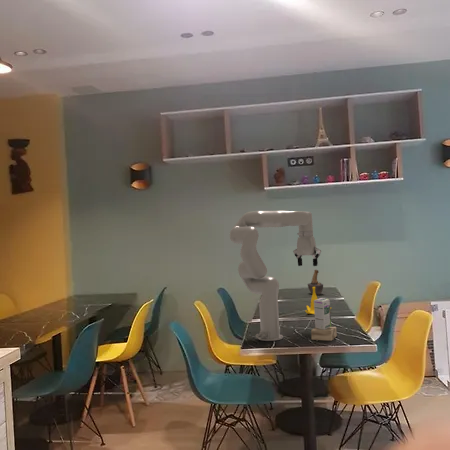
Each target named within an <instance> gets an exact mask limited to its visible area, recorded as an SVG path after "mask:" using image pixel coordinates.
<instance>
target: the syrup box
mask: <svg viewBox="0 0 450 450" xmlns="http://www.w3.org/2000/svg"><path fill="white" fill-rule="evenodd" d="M330 301H331V300H330V299H329V298H327V297H319V298H318V299H317V300H314V311H315V314H314V324H315V327H316V328H318V329H322V330H326V329H328V328H330V327H332V317H331V316H332V315H331V314H332V313H331V309H330V308H331V302H330Z"/></svg>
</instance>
